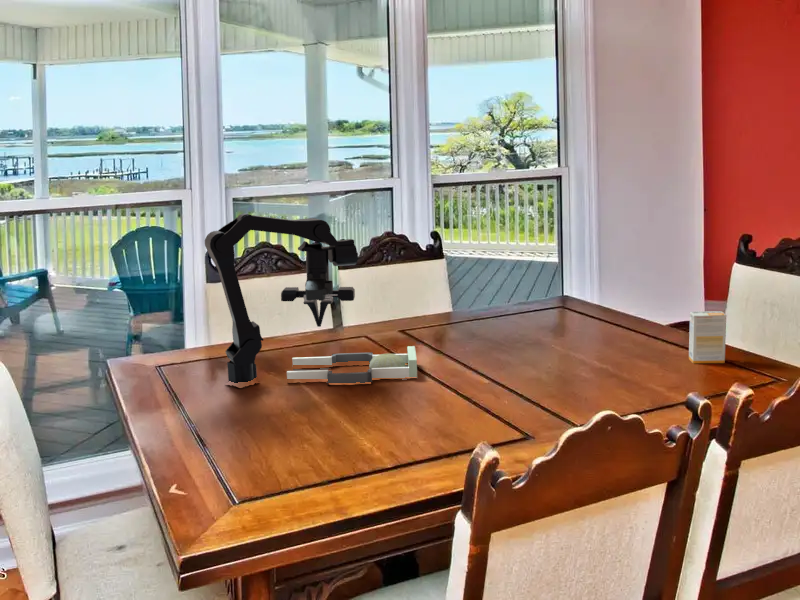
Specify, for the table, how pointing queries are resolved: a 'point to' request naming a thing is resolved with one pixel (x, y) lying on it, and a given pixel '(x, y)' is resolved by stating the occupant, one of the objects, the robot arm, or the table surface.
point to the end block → (412, 361)
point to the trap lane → (346, 377)
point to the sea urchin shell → (386, 361)
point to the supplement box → (707, 337)
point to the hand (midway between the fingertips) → (319, 326)
